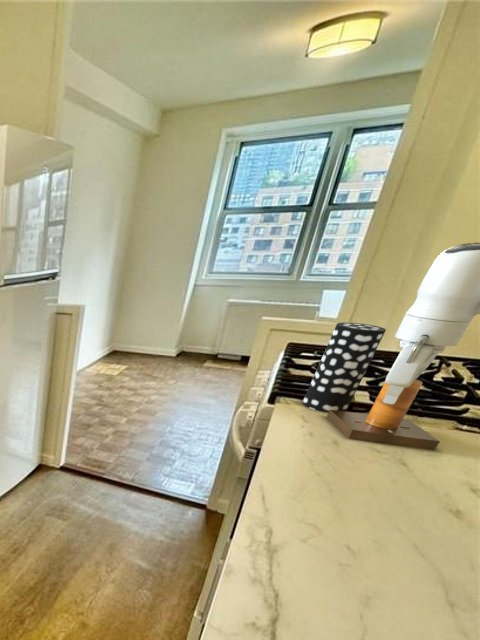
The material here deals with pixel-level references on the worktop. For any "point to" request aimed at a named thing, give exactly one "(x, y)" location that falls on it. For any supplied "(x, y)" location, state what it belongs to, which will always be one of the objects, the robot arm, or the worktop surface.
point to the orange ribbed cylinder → (392, 407)
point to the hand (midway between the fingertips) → (393, 397)
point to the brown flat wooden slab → (381, 431)
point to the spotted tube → (343, 366)
